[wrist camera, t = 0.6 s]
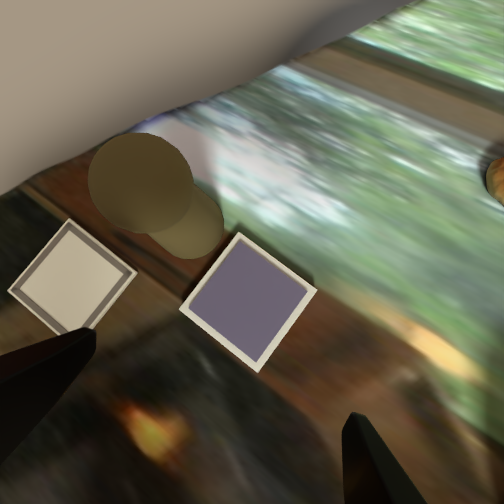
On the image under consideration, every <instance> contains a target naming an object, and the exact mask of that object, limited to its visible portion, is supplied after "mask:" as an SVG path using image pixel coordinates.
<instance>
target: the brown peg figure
mask: <svg viewBox="0 0 504 504" xmlns="http://www.w3.org/2000/svg"><path fill="white" fill-rule="evenodd" d="M88 186H89V191H90V195H91V199H92V201H93V203H94V204H95V206H96V208H97V209H98V211H99V212H100V213H101V214H102V215H103V216H104V217H105V218H106V219H107V220H109V221H110V222H111V223H112V224H114V225H115V226H117V227H119V228H122V229H125V230H128V231H131V232H134V233H147V234H148V235H149V236H151V237H152V238H153V239H154V240H155V241H156V242H157V243H159V244H160V245H161V246H162V247H163V248H164V249H166V250H167V251H168V252H169V253H171V254H172V255H173V256H176V257H179V258H182V259H195V258H199V257H202V256H205V255H206V254H208V253H209V252H210V251H212V250H213V249H214V248H215V247H216V245H217V244H218V243H219V242H220V239H221V237H222V234H223V231H224V219H223V216H222V212H221V210H220V208H219V207H218V206H217V204H216V203H215V202H214V201H213V200H212V199H211V198H210V197H209V196H208V195H206V194H205V193H204V192H203V191H202V190H201V189H200V188H198V187H197V186H196V185H195V184H194V180H193V177H192V173H191V170H190V166H189V165H188V163H187V161H186V160H185V158H184V157H183V155H182V154H181V153H180V151H179V150H178V149H177V148H175V147H174V146H173V145H171V144H170V143H169V142H167V141H166V140H164V139H163V138H161V137H158V136H155V135H152V134H149V133H127V134H123V135H120V136H117V137H115V138H113V139H111V140H110V141H108V142H107V143H105V144H104V145H103V146H102V147H101V148H100V149H99V151H98V152H97V153H96V154H95V155H94V158H93V160H92V162H91V165H90V167H89V173H88Z"/></svg>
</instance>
